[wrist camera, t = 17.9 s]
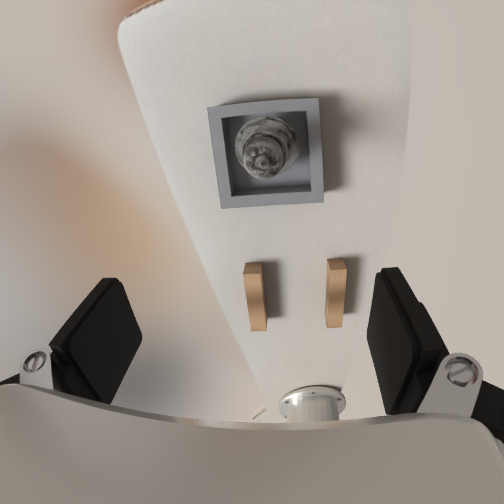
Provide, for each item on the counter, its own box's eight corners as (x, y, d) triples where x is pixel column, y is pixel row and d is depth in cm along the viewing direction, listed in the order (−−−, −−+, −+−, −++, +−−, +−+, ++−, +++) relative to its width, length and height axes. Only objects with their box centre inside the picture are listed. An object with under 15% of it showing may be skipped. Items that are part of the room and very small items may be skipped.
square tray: (320, 193, 32) (323, 202, 29) (226, 199, 33) (221, 208, 30) (314, 98, 27) (318, 98, 24) (214, 107, 28) (207, 107, 25)
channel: (339, 315, 39) (341, 327, 37) (253, 319, 41) (251, 331, 39) (343, 258, 35) (346, 269, 33) (245, 263, 37) (243, 274, 34)
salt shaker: (277, 104, 27) (276, 102, 16) (307, 152, 29) (323, 181, 18) (229, 133, 29) (198, 151, 18) (259, 179, 31) (247, 222, 20)
